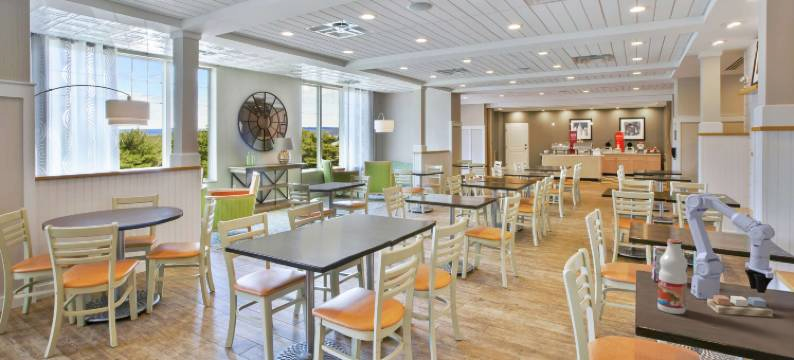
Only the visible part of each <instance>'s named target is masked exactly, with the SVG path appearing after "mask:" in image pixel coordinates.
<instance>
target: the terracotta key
mask: <svg viewBox="0 0 794 360" xmlns="http://www.w3.org/2000/svg"><path fill="white" fill-rule="evenodd" d="M730 299H731V298H729V297H728V296H726V295H721V294H719V295H713V301H714V302H715V303H717V304H718V305H730Z"/></svg>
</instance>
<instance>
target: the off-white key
mask: <svg viewBox="0 0 794 360" xmlns="http://www.w3.org/2000/svg"><path fill="white" fill-rule="evenodd" d="M729 299H730V302H731V303H732V304H734V305H735V306H748V298H746V297H744V296H741V295H739V296H736V295H730V298H729Z"/></svg>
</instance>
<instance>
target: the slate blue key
mask: <svg viewBox="0 0 794 360" xmlns="http://www.w3.org/2000/svg"><path fill="white" fill-rule="evenodd" d="M747 300H748V304H750V305H752V306H753V307H764V308H766V307H767V300H765V299H763V298H762V297H754V296H748V297H747Z"/></svg>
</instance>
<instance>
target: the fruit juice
mask: <svg viewBox="0 0 794 360" xmlns="http://www.w3.org/2000/svg"><path fill="white" fill-rule="evenodd" d="M666 244H667V246H666V247H667V249H666V251H665V253H664V254H663V255H662V257H661V258H660V265H661V270H660V272H659V282H657V285H658V288H657V308H658V310H659V311H661V312H665V313H668V314H673V315H682V314H685V312H686V310H687V307H686V306H687V289H688V274H687V268H688V260H687V258H686V257H685V255H684V253H682V250H683V249H682V244H683V241H682V240H681V239H676V238H667V240H666ZM681 249H682V250H681Z"/></svg>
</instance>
